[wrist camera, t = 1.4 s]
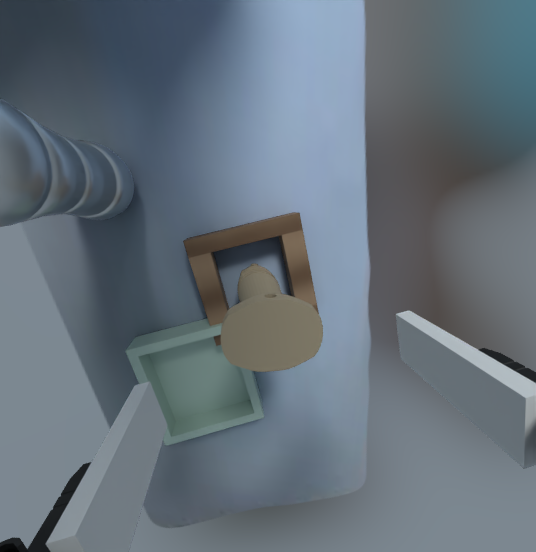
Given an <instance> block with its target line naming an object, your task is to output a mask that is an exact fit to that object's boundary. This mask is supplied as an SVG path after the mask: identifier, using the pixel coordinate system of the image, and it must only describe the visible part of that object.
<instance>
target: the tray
mask: <svg viewBox="0 0 536 552" xmlns="http://www.w3.org/2000/svg"><path fill="white" fill-rule="evenodd" d="M221 327H222V323H220V324H216V325H212V326H210V324H209V321H208V318H206V319H202V320H199V321H195V322H191V323H187V324H183V325H179V326H176V327H172V328H168V329H164V330H160V331H157V332H153V333H149V334H145V335H141V336H137V337H135V338H134V340H133V341H132V342H131V344H130V345H129V346H128V348H127V349H126V350H125V352H126V354H127V356H128V359H129V361H130V363H131V366H132V368H133V370H134V373H135V375H136V378H137V380H138V382H139V384H142V383H146V382H149V381H150V383H151V385H152V388H153V390H154V393H155V395H156V398H157V400H158V403H159V405H160V408H161V410H162V413H163V415H164V418H165V420H166V423H167V429H166V432H165V435H164V438H163V441H164V444H165V446H168V445H171V444H175V443H178V442H182V441H185V440H189V439H192V438H195V437H199V436H202V435H206V434H209V433H213V432H216V431H220V430H223V429H227V428H230V427H234V426H237V425H240V424H244V423H247V422H251V421H254V420H258V419H261V418H264V411H263V405H262V399H261V395H260V392H259V388H258V385H257V381H256V378H255V374H254V371H251V370H248V369H245V368H241V367H239V366H236V365H233V364H231V363H230V362H229V361H228V360H227V358H226V357H225V355H224V353H223V350H222V346H221V345H218V346H216V343H215V340H214V337H213V336H217V335H221Z"/></svg>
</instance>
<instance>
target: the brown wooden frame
mask: <svg viewBox="0 0 536 552" xmlns="http://www.w3.org/2000/svg"><path fill="white" fill-rule="evenodd" d="M276 236H279V240H280V245H281V250H282V254H283V259H284V264H285V268H286V273H287V277H288V282H289V287H290V291H291V296H292V297H295V298H298V299H300V300H303V301H305V302H307V303H309V304H311V305H312V306H313V307H314V309H315V310H316V311H317V313H318V308H317V303H316V297H315V292H314V287H313V282H312V276H311V271H310V266H309V261H308V255H307V250H306V245H305V240H304V234H303V229H302V224H301V219H300V213H295V212H294V213H289V214H285V215H281V216H277V217H273V218H269V219H265V220H261V221H256V222H252V223H248V224H244V225H240V226H236V227H232V228H228V229H223V230H219V231H215V232H211V233H207V234H203V235H199V236H195V237H190V238H187V239H186V240H184V241H183V242H184V245H185V248H186V252H187V255H188V258H189V261H190V264H191V267H192V271H193V274H194V277H195V280H196V283H197V286H198V290H199V293H200V296H201V299H202V302H203V305H204V308H205V312H206V315H207V318H208V321H209V324H210V326H212V325H216V324H220V323H222V322H223V319H224V317H225V314H226V313H227V311H228V310H229V305H228V302H227V298H226V295H225V291H224V288H223V285H222V281H221V278H220V274H219V271H218V267H217V264H216V260H215V257H214V253H213V252H215V251H219V250H223V249H227V248H231V247H235V246H239V245H243V244H247V243H251V242H255V241H260V240H264V239H268V238H272V237H276ZM318 314H319V313H318ZM213 337H214V340H215V343H216V346H218V345H221V335H217V336H213Z"/></svg>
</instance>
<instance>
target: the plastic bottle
mask: <svg viewBox="0 0 536 552" xmlns="http://www.w3.org/2000/svg"><path fill="white" fill-rule="evenodd" d="M133 194H134V182H133V177H132V174H131V172H130V170H129V168H128V167H127V165H126V164H125V163H124V161H123V160H122V159H121V158H120V157H119V156H118V155H117V154H116V153H114V152H113V151H112V150H111V149H109V148H107V147H106V146H104V145H101V144H98V143H95V142H90V141H83V140H74V139H71V138H67V137H63V136H61V135H59V134H57V133H55V132H53V131H51V130H50V129H48V128H46V127H44V126H42V125H40V124H39V123H37V122H36V121H35V120H33V119H32V118H30V117H29V116H27V115H26V114H24V113H23V112H21V111H20V110H18V109H17V108H15V107H14V106H12V105H11V104H10V103H8V102H6V101H4V100H3V99H1V98H0V227H3V226H9V225H13V224H17V223H20V222H24V221H28V220H31V219H35V218H39V217H42V216H50V215H58V214H68V215H76V216H79V217H82V218H87V219H93V220H106V219H109V218H113V217H114V216H116V215H118V214H120V213H122V212H123V211H124V210H125V209H126V208H127V207H128V206H129V204H130V203H131V201H132V198H133Z"/></svg>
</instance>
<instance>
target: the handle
mask: <svg viewBox="0 0 536 552" xmlns="http://www.w3.org/2000/svg"><path fill="white" fill-rule="evenodd" d="M238 297H239V301H240V303H238V304H237V305H235V306H233V307H231V308H230V309H229V310H228V311H227V313H226V314H225V317H224V319H223V322H222V327H221V346H222V350H223V353H224V355H225V357H226V358H227V360H228V361H229V362H230V363H231V364H233V365H236V366H239V367H241V368H245V369H248V370H251V371H257V372H269V371H279V370H286V369H290V368H292V367H295V366H297V365H299V364H301V363H303V362H305V361H307V360H309V359H311V358H312V357H314V356H315V355H316V353H317V352H318V350H319V348H320V346H321V342H322V337H323V325H322V321H321V318H320V316H319V314H318V313H317V311H316V310H315V309H314V307H313V306H312V305H311V304H309V303H307V302H305V301H303V300H300V299H298V298H295V297H292V296H289V295H285V294H282V293H281V290H280V287H279V284H278V282H277V280H276V279H275V277H274V276H273V275H272V274H271V273H270V272H269V271H268V270H267V269H265V268H264V267H261V266H258V264H251V266H250V267H248V268H247V269H245V270H242V272H241V274H240V278H239V282H238Z"/></svg>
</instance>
